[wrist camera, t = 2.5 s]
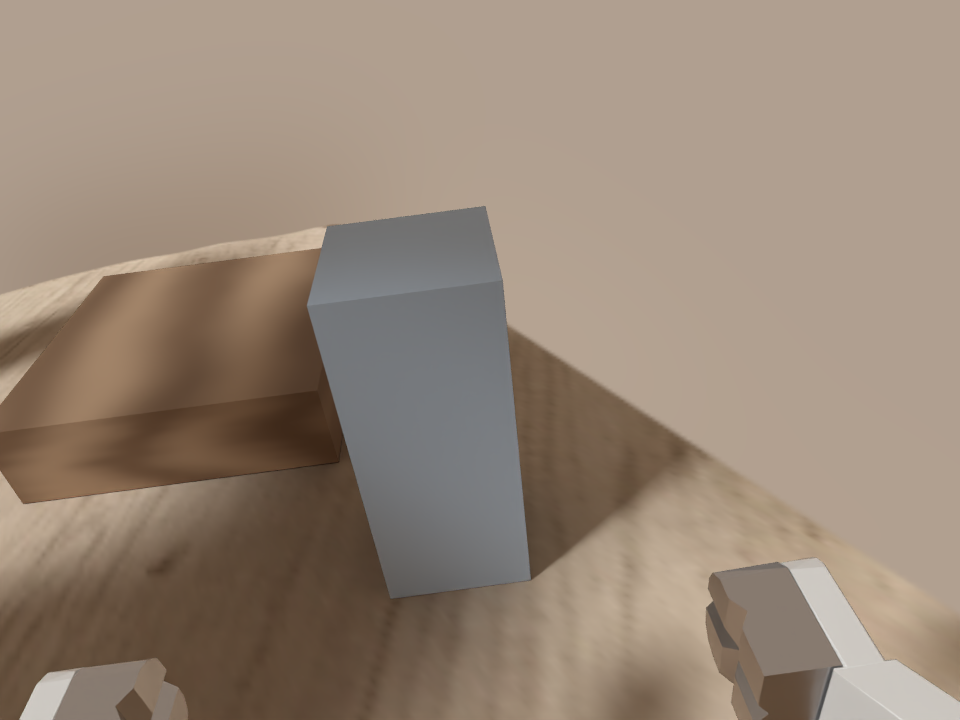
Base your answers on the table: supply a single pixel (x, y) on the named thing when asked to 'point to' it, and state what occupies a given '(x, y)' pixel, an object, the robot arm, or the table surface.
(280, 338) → the block
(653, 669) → the table surface
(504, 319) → the slate block
